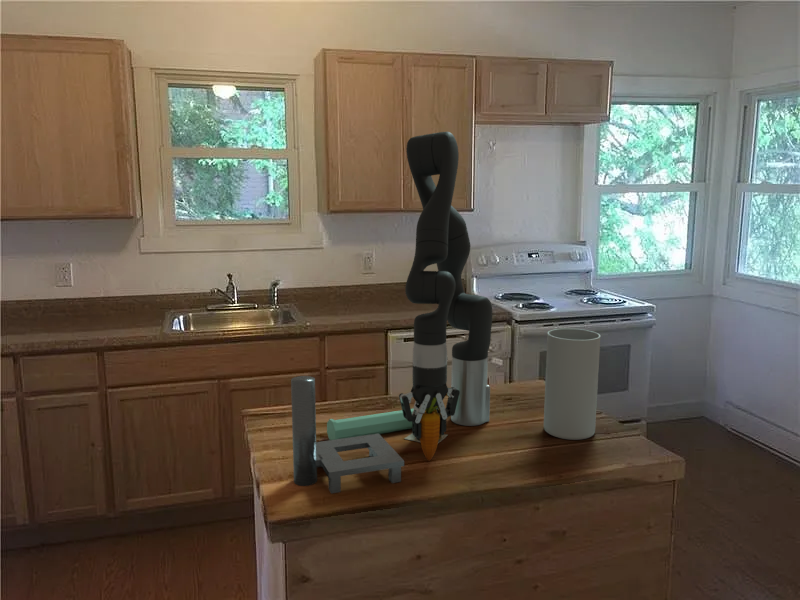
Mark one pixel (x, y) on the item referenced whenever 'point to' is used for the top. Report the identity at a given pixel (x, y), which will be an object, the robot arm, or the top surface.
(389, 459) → the square hole stand
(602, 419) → the top surface
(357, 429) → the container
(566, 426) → the cylinder vase
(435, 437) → the carrot
